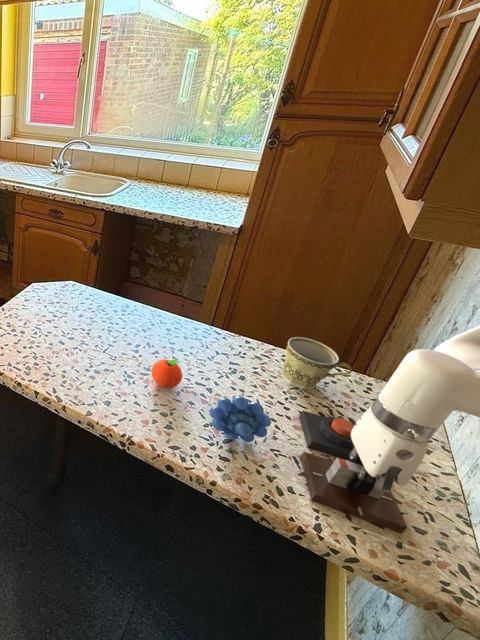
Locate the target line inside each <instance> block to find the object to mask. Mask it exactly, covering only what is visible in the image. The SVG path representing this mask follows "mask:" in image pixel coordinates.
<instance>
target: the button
mask: <svg viewBox="0 0 480 640" xmlns="http://www.w3.org/2000/svg"><path fill="white" fill-rule="evenodd" d="M354 426H355V424H353V423H352V422H350V421H349V420H347V419H345V418H342V417H337V418H335V419H334V420H333V422H332V424H331V428H332V429H333V430H334V431H335V432H336V433H338V434H340V435H341V436H344V437H351V431H352V429H353V427H354Z"/></svg>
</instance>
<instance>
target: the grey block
mask: <svg viewBox="0 0 480 640" xmlns="http://www.w3.org/2000/svg"><path fill="white" fill-rule="evenodd" d="M333 461H334V463H333V464H332V465H331V467H330V468H329V470H328V471H327V473H326V476H327V479H328V482H329V483H331V484H334V485H337V486H340V487H344V488H347V487H346V484H347V482H348V481H349V480H350V478H351V477H352V476H353V474H354V473H359V471H360V470H361V468H362V467H363V466H362V465H359V464H356V463H353V462H349V461H347V460H344V459H341V458H338V457H335V459H334V460H333ZM368 475H370V474H368ZM383 493H384V492H383V491H380V490H379V489H378V488H377V487H376V486H375V487H374V488H373V489H372V490H371V492H370V493H369V494H368V496H372V497H375V498H378V499H379V498H380V497H381V495H382V494H383Z"/></svg>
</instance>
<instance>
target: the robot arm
mask: <svg viewBox="0 0 480 640" xmlns="http://www.w3.org/2000/svg"><path fill="white" fill-rule="evenodd" d="M454 411H457V412H458V411H459V412H462V413H465V414H468V415H470V416H474V417H477V418H480V325H478V326H476V327H474V328H471V329H469V330H466V331H464V332H462V333H459V334H457V335H455V336H453V337H451V338H448V339H447V340H445V341H443V342H442V343H440V344H439V345H438V346H436V347H435V348H434V349H427V348H419V349H414V350H411V351H409V352H408V353H407V354H406V355H405V356H404V358H403V359H402V360H401V362H400V364H399V365H398V366H397V368H396V370H395V371H394V372H393V374H392V375H391V377H390V378H389V379H388V381H387V383H386V384H385V386H384V387H383V388H382V390H381V392H380V393H379V394H378V396H377V397H376V398H375V400H374V402H373V403H372V405H371V406H369V408H367V410H365V411H364V413H363V414H362V415H361V416H360V417H359V419H358V420H357V421H356V423H355V424H354V427H353V429H352V431H351V439H352V441H353V450H352V452H351V453H350V455H349V458H350V459H351V460H348V461H349V462H353V463H356V464H359V465H362V466H363V467H362V468H361V470H360V471H359V473H354V474H353V476H352V477H351V478H350V480H349V481H348V482H347V484H346V487H347V489H349V490H352V491H355V492H359V493H362V494H365V495H368V494H369V493H370V492H371V490H372V489H373V488H374V487H375V486H376V487H377V488H378V489H379V490H380V491H383V492H387V493H390V492H392V490H393V485H394V482H395V483H396V485H397V486H399V487H404V486H406V485H407V484H408V482H410V480H411V479H412V477H413V476H414V474H415V473H416V472H417V471H418V469H419V467H420V466H421V464H422V462H423V460H424V458H425V456H426V454H427V451H428V449H429V442H428V441H430V440H431V439H432V437H434V435H435V434H436V433H437V431H438V430H439V428H440V427H441V426H442V425H443V424H444V422H445V421H446V420H447V419H448V418H449V417H450V415H451V414H452V413H453V412H454ZM368 474H370V475H368Z"/></svg>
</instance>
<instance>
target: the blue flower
mask: <svg viewBox="0 0 480 640" xmlns="http://www.w3.org/2000/svg"><path fill="white" fill-rule="evenodd" d="M216 405H217V406H212V407H210V408H209V411H208V412H209V415H210V416H211V418H212V420H211V425H212V427H213V428H214V430H217V432H223V435H224V436H225V437H226V438H227V439H228V440H232V441H233V440H234V441H236V440H237V439H239V438H240V440H242V441H243V442H245V443H252V442H253V441H254V440H255V436H256V437H258V438H265V437H267V435H268V429H267V428H269V427H270V426H271V424H272V419H271V418H270V416H269V415H268V414H266V413H265V410H264V407H263V406H262V405H261V403H258V402H256V401H252V402H251V401H250V402H249V401H248V400H247V399H246V398H245V397H243V396H241V395H237V396H234V397H233V398H232V400H230V399H228V398H227V397H221V398H219V399H218V400H217V402H216Z"/></svg>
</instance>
